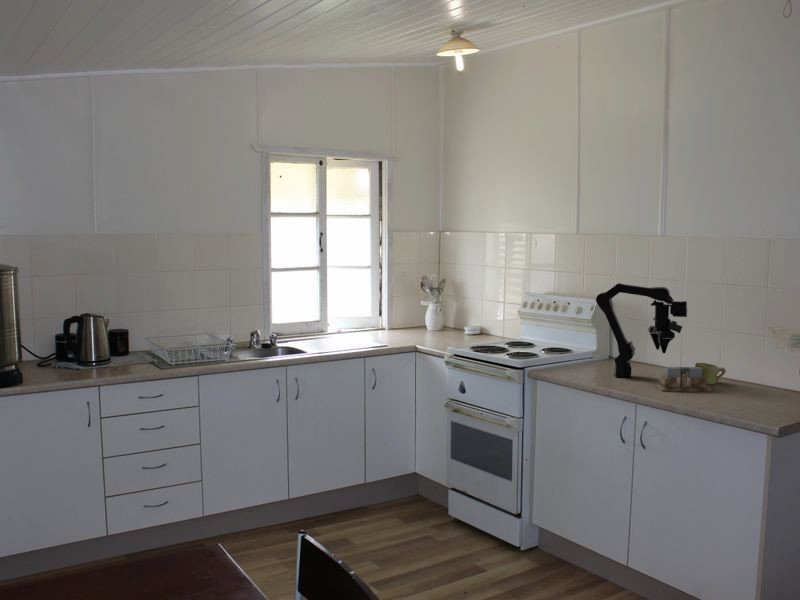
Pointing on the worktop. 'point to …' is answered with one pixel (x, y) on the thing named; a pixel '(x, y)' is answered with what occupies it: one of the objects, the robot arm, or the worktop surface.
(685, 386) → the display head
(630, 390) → the worktop surface
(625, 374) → the robot arm
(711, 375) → the mug
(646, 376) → the worktop surface
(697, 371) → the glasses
